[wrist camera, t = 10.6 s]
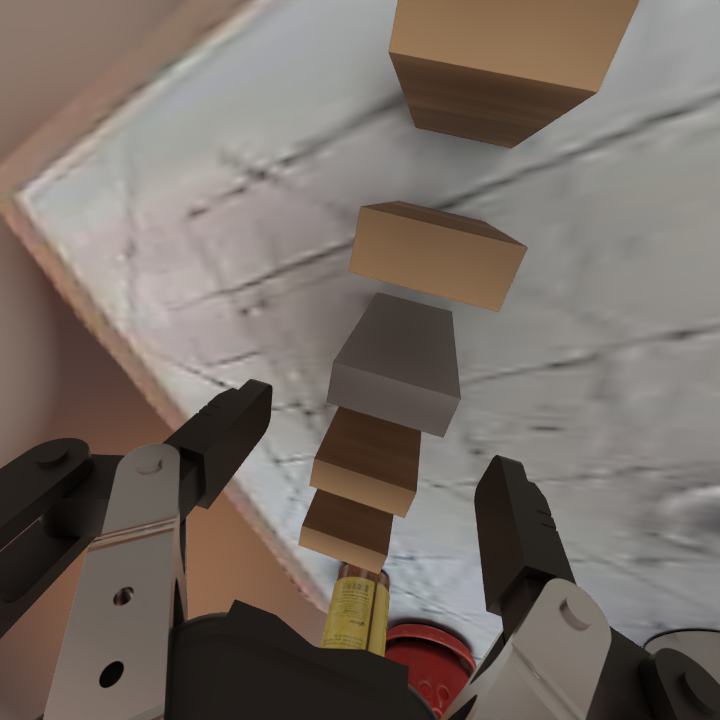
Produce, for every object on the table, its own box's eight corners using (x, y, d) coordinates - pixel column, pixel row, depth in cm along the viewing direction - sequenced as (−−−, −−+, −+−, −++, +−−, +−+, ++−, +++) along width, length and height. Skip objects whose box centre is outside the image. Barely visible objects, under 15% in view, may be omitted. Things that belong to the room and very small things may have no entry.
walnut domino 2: (398, 452, 27) (378, 574, 18) (343, 434, 27) (298, 545, 19) (405, 435, 26) (387, 555, 17) (347, 416, 26) (301, 525, 18)
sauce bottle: (330, 571, 38) (240, 882, 21) (357, 550, 35) (276, 898, 18) (375, 597, 38) (322, 923, 21) (405, 580, 35) (372, 945, 18)
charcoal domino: (377, 292, 21) (333, 362, 12) (451, 312, 20) (460, 398, 12) (371, 319, 22) (326, 402, 13) (441, 339, 21) (443, 437, 13)
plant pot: (442, 606, 36) (443, 772, 26) (497, 665, 39) (517, 833, 29) (355, 617, 42) (327, 756, 31) (409, 668, 45) (400, 808, 35)
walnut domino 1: (417, 401, 24) (404, 517, 15) (355, 383, 25) (309, 485, 16) (425, 380, 23) (416, 492, 14) (360, 361, 24) (314, 458, 15)
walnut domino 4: (471, 257, 19) (498, 312, 10) (389, 237, 19) (348, 271, 10) (484, 221, 18) (528, 247, 9) (398, 201, 18) (360, 206, 9)
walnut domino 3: (512, 148, 16) (598, 92, 7) (416, 127, 16) (388, 51, 8) (530, 98, 15) (655, -36, 6) (427, 77, 15) (411, -74, 7)
